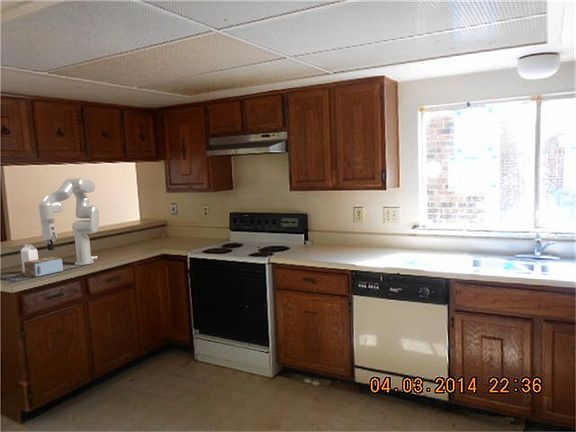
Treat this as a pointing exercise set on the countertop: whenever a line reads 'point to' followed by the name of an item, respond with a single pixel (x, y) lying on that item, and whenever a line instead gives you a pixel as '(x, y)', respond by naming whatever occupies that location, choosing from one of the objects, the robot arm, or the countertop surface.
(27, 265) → the walnut cabinet
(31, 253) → the milk carton
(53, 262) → the cabinet door
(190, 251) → the countertop surface
